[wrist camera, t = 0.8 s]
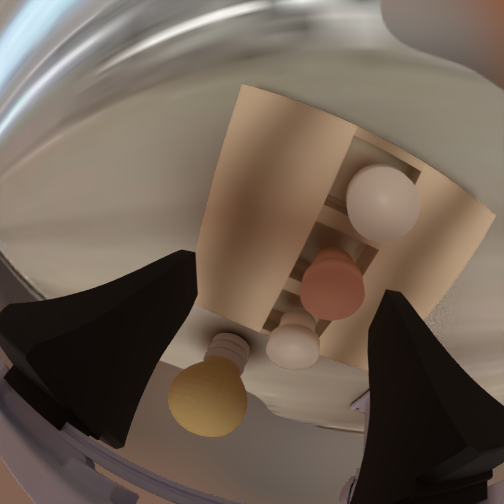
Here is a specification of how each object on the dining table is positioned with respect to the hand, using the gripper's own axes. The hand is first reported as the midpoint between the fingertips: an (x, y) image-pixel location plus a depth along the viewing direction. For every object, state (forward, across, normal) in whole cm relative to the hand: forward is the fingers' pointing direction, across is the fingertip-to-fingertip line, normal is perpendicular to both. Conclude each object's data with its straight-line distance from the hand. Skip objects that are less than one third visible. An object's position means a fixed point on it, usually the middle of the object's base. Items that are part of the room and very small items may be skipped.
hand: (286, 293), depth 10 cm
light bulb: (+9, +4, +14) cm, 17 cm away
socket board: (+9, -2, +2) cm, 9 cm away
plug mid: (+5, -2, +2) cm, 6 cm away
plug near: (+6, -3, -3) cm, 7 cm away
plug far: (+6, -1, +7) cm, 9 cm away
